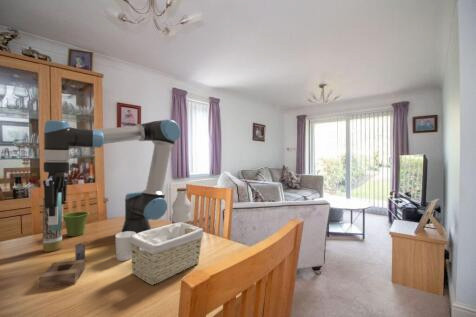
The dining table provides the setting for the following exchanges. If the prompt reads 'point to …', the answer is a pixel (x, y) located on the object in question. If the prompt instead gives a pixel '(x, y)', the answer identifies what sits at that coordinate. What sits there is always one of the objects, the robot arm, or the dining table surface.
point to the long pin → (58, 226)
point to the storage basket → (165, 251)
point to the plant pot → (75, 223)
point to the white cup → (123, 245)
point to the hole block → (62, 274)
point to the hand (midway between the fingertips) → (55, 222)
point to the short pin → (80, 251)
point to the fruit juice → (181, 208)
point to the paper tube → (50, 234)
